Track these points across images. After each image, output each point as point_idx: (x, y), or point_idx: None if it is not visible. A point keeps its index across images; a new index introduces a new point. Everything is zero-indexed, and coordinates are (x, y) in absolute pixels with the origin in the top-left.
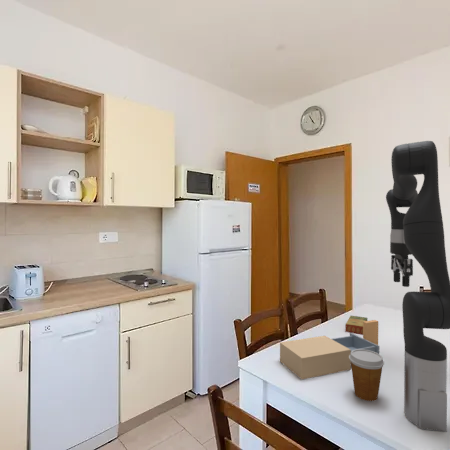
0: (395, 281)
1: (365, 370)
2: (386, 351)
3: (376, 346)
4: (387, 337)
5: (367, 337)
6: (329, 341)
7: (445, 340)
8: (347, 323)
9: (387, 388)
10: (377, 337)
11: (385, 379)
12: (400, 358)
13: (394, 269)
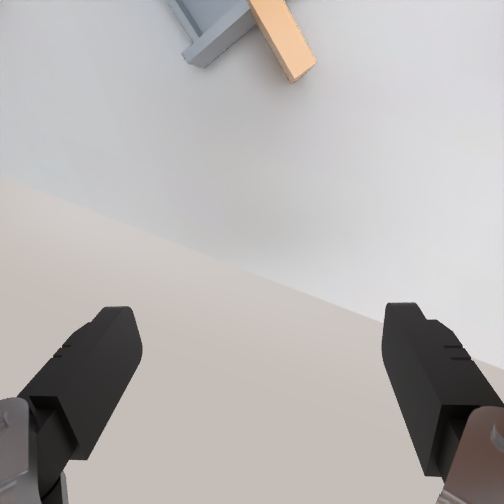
0: (388, 314)
1: None
2: (327, 127)
3: (187, 49)
4: (484, 172)
5: (253, 13)
6: None
7: None
8: None
9: (34, 53)
10: (290, 78)
11: (91, 62)
12: (272, 161)
13: (448, 473)
